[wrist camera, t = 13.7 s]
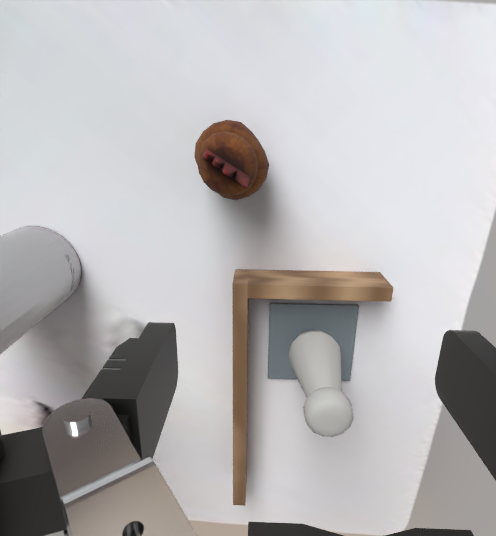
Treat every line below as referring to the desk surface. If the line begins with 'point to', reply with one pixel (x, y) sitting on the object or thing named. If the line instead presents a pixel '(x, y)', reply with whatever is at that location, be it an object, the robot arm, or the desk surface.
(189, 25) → the desk surface
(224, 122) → the wooden figurine
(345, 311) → the pad
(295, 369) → the salt shaker
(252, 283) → the wooden l-shaped bracket
